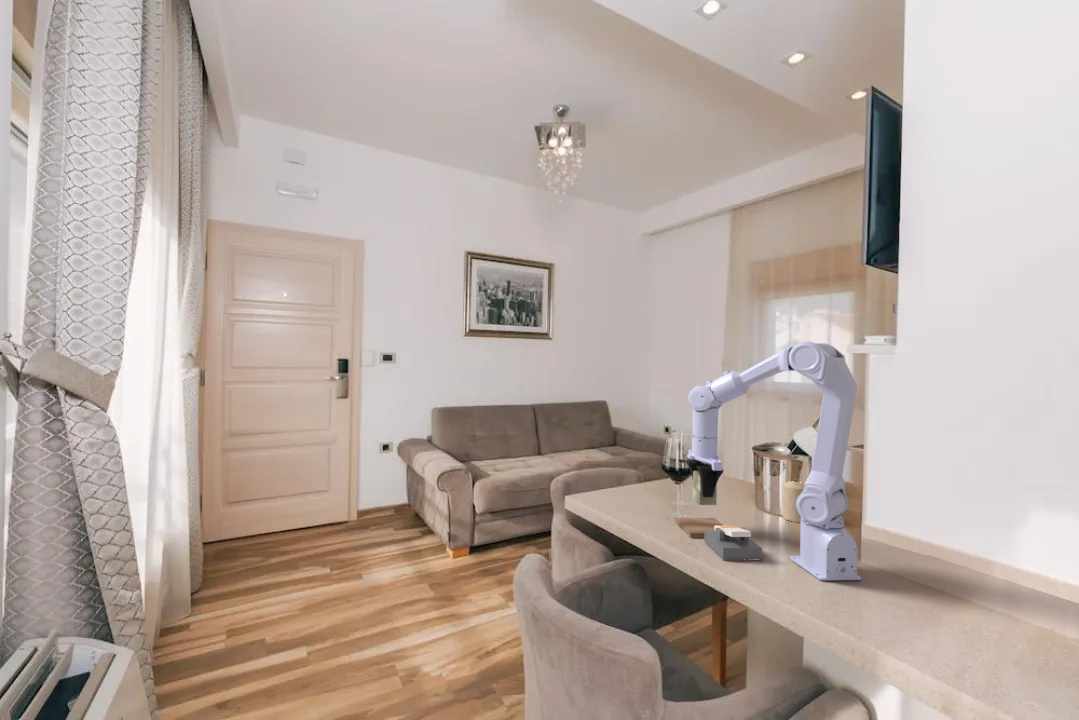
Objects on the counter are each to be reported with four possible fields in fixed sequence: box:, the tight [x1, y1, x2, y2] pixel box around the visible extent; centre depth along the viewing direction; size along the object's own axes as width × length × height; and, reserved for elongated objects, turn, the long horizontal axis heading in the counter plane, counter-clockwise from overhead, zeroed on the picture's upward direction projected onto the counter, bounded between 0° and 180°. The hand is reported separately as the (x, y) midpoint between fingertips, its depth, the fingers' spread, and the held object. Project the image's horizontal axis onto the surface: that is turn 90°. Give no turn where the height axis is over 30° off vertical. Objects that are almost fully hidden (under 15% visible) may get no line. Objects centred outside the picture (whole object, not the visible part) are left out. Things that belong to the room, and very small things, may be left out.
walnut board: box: [674, 517, 724, 539], centre depth 107 cm, size 10×10×1 cm
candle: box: [782, 480, 805, 524], centre depth 116 cm, size 6×6×10 cm
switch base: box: [703, 527, 763, 561], centre depth 95 cm, size 9×8×4 cm
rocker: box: [714, 524, 752, 538], centre depth 95 cm, size 8×4×1 cm, turn 3°
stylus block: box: [692, 471, 718, 506], centre depth 107 cm, size 4×4×7 cm
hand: (703, 493), depth 107 cm, fingers closed on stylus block, 4 cm apart
